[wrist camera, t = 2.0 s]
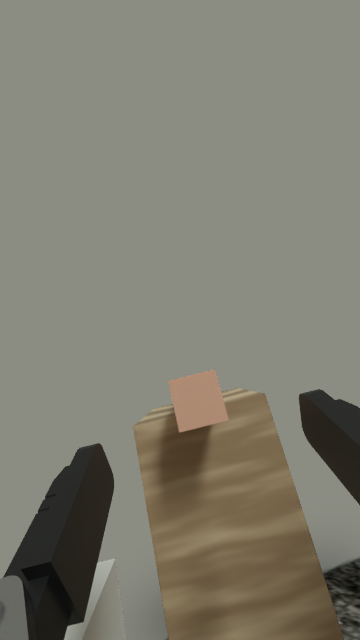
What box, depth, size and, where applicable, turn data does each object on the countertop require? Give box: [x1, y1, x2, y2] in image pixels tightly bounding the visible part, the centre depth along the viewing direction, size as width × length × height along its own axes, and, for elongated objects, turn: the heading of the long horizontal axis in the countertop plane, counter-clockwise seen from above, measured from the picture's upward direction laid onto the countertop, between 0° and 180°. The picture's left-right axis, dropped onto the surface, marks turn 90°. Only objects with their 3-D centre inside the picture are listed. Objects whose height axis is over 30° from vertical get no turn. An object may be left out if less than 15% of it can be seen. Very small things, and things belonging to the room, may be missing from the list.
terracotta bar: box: [168, 369, 229, 433], centre depth 26 cm, size 22×4×4 cm, turn 178°
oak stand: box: [133, 388, 344, 640], centre depth 26 cm, size 14×14×32 cm
